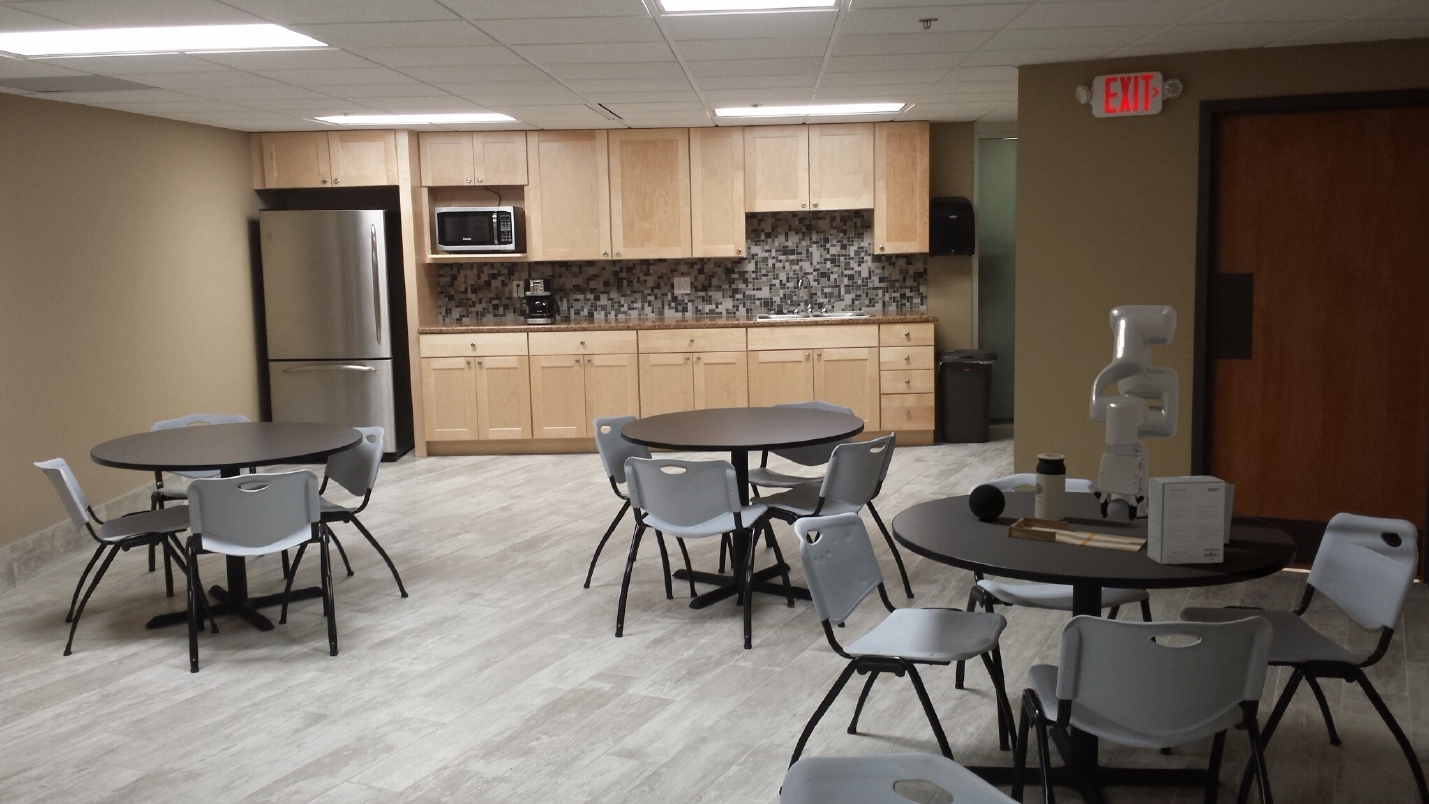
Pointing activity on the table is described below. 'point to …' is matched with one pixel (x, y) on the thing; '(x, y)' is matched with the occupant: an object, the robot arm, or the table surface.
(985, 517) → the decorative ball
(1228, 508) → the skincare box
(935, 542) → the table surface
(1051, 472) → the travel mug
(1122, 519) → the rubber ball
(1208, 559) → the hard drive box
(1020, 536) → the mat
